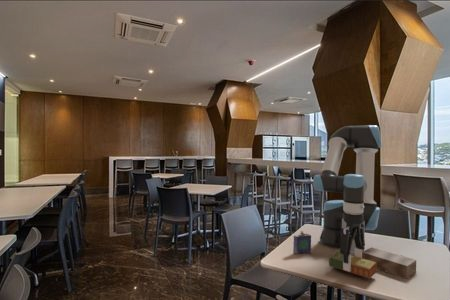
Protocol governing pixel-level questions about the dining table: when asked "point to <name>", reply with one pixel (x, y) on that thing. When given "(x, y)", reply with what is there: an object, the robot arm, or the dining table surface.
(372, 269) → the carton
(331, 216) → the robot arm
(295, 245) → the flask
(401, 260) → the walnut block
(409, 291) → the dining table surface
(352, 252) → the board
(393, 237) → the dining table surface
